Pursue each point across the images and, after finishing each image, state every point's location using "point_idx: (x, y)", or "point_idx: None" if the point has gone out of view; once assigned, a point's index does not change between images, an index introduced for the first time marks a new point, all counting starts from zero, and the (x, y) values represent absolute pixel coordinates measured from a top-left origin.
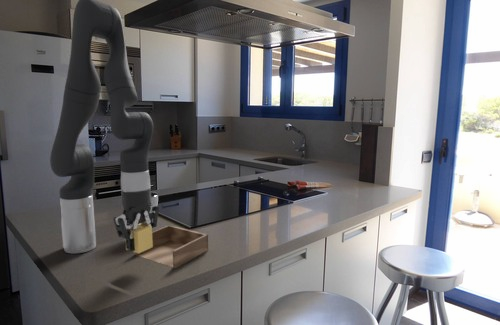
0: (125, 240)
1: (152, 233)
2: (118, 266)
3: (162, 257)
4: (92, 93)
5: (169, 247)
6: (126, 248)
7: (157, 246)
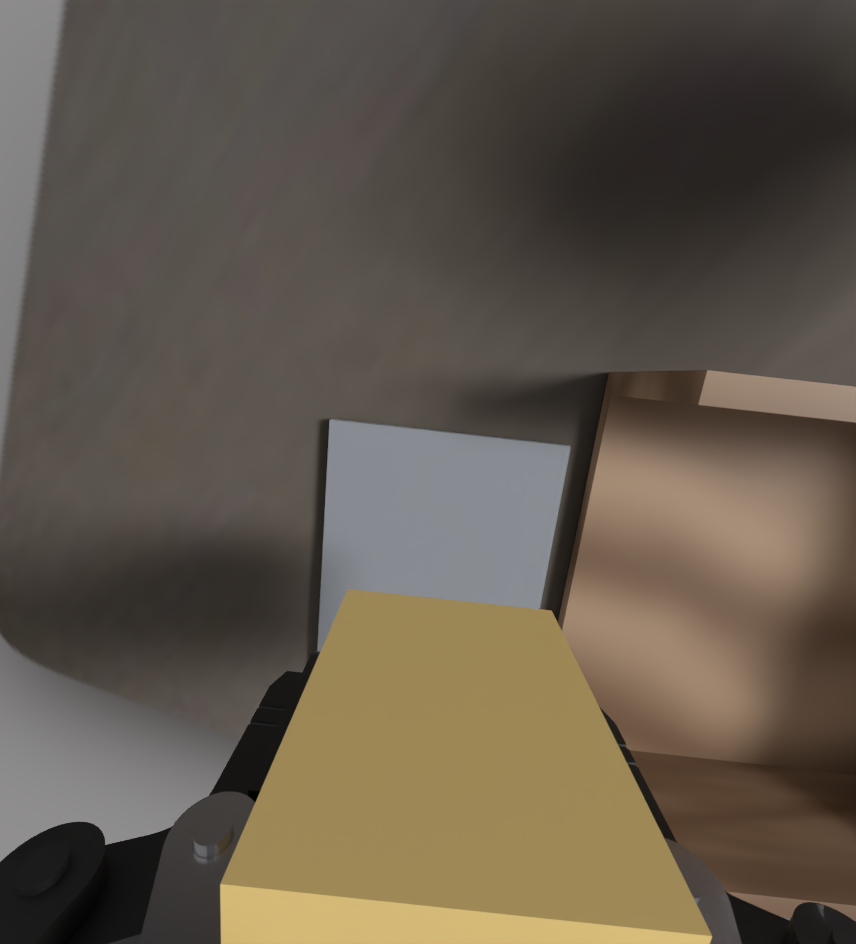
0: (317, 660)
1: None
2: (416, 386)
3: (647, 599)
4: None
5: (839, 535)
6: (278, 678)
7: (834, 431)
